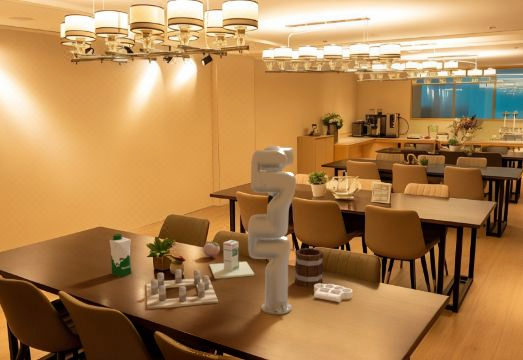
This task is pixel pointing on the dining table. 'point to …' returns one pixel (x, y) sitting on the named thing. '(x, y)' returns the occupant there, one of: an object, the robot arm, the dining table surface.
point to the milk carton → (120, 255)
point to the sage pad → (223, 273)
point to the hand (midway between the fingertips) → (273, 207)
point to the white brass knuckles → (332, 292)
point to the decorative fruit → (211, 249)
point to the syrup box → (231, 255)
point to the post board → (175, 301)
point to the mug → (308, 267)
